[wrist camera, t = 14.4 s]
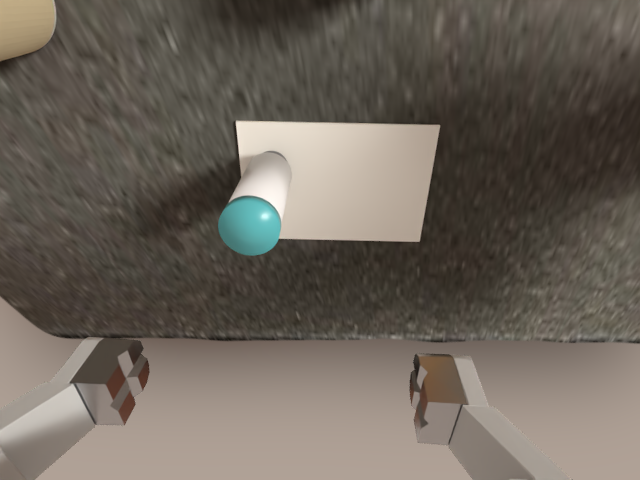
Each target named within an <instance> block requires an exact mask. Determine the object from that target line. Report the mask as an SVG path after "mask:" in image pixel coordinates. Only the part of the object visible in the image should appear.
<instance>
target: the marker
mask: <svg viewBox="0 0 640 480" xmlns="http://www.w3.org/2000/svg"><path fill="white" fill-rule="evenodd" d="M291 178H292V172H291V168H290V166H289V164H288V162H287V160H286V158H285V157H284V156H283V155H282V154H281V153H279V152H276V151H266V152H264V153H261V154H258V155H256V156H255V157H253V158H252V160H251V161H250V162H249V164H248V166H247V168H246V170H245V172H244V174H243V176H242V178H241V179H240V181H239V183H238V185H237V187H236V189H235V191H234V193H233V195H232V197H231V199H230V200H229V202H228V204H227V205H226V207H225V208H224V210H223V212H222V214H221V216H220V218H219V222H218V229H219V233H220V236H221V238H222V240H223V241H224V242H225V244H226V245H227V246H229V247H230V248H231V249H233V250H234V251H236V252H238V253H241V254H245V255H260V254H263V253H266V252H268V251H269V250H271V249H272V248H273V247H274V246H275V245H276V243H277V241H278V239H279V235H280V231H281V223H282V219H283V214H284V210H285V205H286V201H287V196H288V192H289V187H290V183H291Z"/></svg>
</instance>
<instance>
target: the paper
mask: <svg viewBox="0 0 640 480" xmlns="http://www.w3.org/2000/svg"><path fill="white" fill-rule="evenodd" d="M236 128H237V138H238V148H239V159H240V169H241V178H242V176H243V174H244V172H245V170H246V168H247V166H248V164H249V162H250V161H251V160H252V158H253V157H255V156H256V155H258V154H261V153H264V152H266V151H276V152H279V153H281V154H282V155H283V156H284V157H285V158H286V160H287V162H288V164H289V166H290V168H291V172H292V178H291V183H290V187H289V192H288V196H287V201H286V205H285V210H284V214H283V219H282V223H281V231H280V235H279V239H315V240H358V241H401V242H420V237H421V231H422V225H423V220H424V214H425V208H426V203H427V197H428V192H429V186H430V180H431V175H432V169H433V163H434V158H435V152H436V147H437V141H438V135H439V130H440V125H430V124H380V123H330V122H280V121H236Z"/></svg>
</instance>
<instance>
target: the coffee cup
mask: <svg viewBox="0 0 640 480" xmlns="http://www.w3.org/2000/svg"><path fill="white" fill-rule="evenodd" d="M55 26H56V7H55V2H54V0H0V61H2V60H6V59H10V58H13V57H17V56H21V55H24V54H27V53H31V52H34V51H36V50H39V49H41V48H42V47H43V46H45V45H46V44H47V43H48V42H49V40H50V39H51V37H52V35H53V33H54V30H55Z"/></svg>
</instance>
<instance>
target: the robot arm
mask: <svg viewBox="0 0 640 480" xmlns="http://www.w3.org/2000/svg"><path fill="white" fill-rule="evenodd" d="M142 351H143V346H142V343H141V341H138V340H128V339H114V338H98V337H88V338H86V339H84V340H83V341H82V342H81V343H80V345H79V346H78V347H77V348H76V350H75V351H74V352H73V353H72V355H71V356H70V357H69V358H68V360H67V361H66V362H65V364H64V365H63V366H62V367H61V369H60V370H59V371H58V373H57V374H56V375H55V376H54V378H53V379H52V380H51V382H44V383H43V384H41V385H39V386H38V387H36V388H34V389H33V390H31V391H29V392H28V393H26V394H24V395H23V396H21V397H19V398H18V399H16V400H14V401H13V402H11V403H9V404H8V405H6V406H4V407H3V408H1V409H0V480H35V479H36V478H37V477H38V476H39V475H40V474H41V473H43V472H44V471H45V470H46V469H47V468H48V467H49V466H51V465H52V464H53V463H54V462H55V461H56V460H57V459H59V458H60V457H61V456H62V455H63V454H64V453H65V452H67V451H68V450H69V449H70V448H71V447H72V446H73V445H75V444H76V443H77V442H78V441H79V440H80V439H81V438H83V437H84V436H85V435H86V434H87V433H88V432H89V431H91V430H92V429H93V428H94V427H95V425H125V424H126V421H127V420H128V418H129V416H130V414H131V412H132V410H133V408H134V406H135V399H134V397H135V396H136V395H138V394H139V393H140V392H142V391H143V389H144V387H145V385H146V383H147V380H148V376H149V363H148V360H147V358H145V357H144V356H143V355H142V354H141V352H142ZM413 364H414V371H412V372H411V376H410V387H409V388H410V389H409V391H410V400H411V406H412V407H413V408H414V409H415V410H416V412H415V417H414V425H415V429H416V436H417V441H418V443H427V444H438V445H449V448H450V450H451V451H452V452H453V454H454V455H455V457H456V458H457V459H458V461H459V462H460V463H461V464H462V466H463V467H464V469H465V470H466V471H467V473H468V474H469V475H470V477H471V478H472V479H473V480H572V479H571V478H570V477H569V476H568V475H567V474H566V473H565V472H564V471H563V470H562V469H561V468H560V467H558V466H557V465H556V464H555V463H554V462H553V461H552V460H551V459H550V458H549V457H548V456H547V455H546V454H544V453H543V452H542V451H541V450H540V449H539V448H538V447H537V446H536V445H535V444H534V443H533V442H532V441H531V440H530V439H528V438H527V437H526V436H525V435H524V434H523V433H522V432H521V431H520V430H519V429H518V428H517V427H516V426H515V425H514V424H512V423H511V422H510V421H509V420H508V419H507V418H506V417H505V416H504V415H503V414H502V413H501V412H499V410H497V409H496V408H495V407H492V406H489V405H488V402H487V399H486V397H485V394H484V391H483V388H482V386H481V383H480V380H479V378H478V375H477V372H476V370H475V367H474V364H473V361H472V359H471V357H470V356H466V355H464V356H463V355H449V354H422V353H416V354H415V357H414V360H413Z"/></svg>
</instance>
